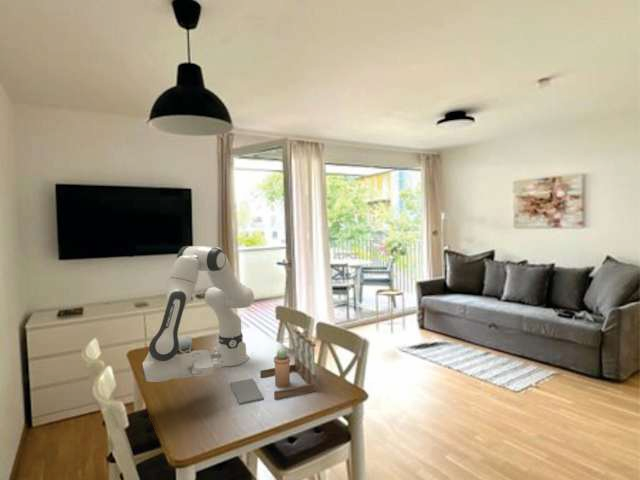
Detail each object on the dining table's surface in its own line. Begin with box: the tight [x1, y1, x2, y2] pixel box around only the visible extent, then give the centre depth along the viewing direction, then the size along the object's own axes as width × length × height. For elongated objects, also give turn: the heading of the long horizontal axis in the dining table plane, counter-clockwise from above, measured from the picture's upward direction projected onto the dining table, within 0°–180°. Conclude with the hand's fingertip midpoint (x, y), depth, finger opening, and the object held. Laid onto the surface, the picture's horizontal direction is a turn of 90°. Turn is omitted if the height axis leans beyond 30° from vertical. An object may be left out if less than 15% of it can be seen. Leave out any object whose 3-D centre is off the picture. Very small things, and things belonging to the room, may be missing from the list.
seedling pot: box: [273, 348, 291, 389], centre depth 162 cm, size 7×7×16 cm
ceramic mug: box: [177, 335, 193, 355], centre depth 207 cm, size 11×8×8 cm
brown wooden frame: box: [259, 328, 317, 401], centre depth 163 cm, size 24×18×20 cm
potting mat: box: [230, 378, 265, 405], centre depth 156 cm, size 20×10×1 cm, turn 23°
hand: (223, 359), depth 152 cm, fingers open, 8 cm apart
